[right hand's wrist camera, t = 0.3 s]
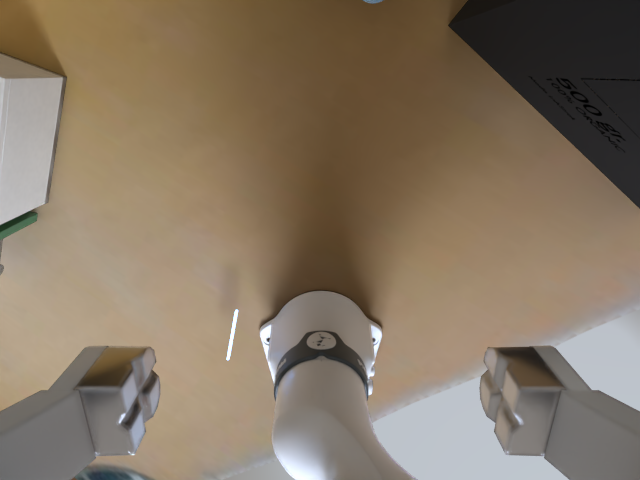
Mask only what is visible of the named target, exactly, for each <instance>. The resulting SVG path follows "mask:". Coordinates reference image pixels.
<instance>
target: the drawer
mask: <svg viewBox="0 0 640 480" xmlns="http://www.w3.org/2000/svg"><path fill="white" fill-rule="evenodd" d="M37 215H38V214H37V213H35V212H32V211H28V212H26V213H24V214H22V215H20V216H18V217H16V218H14V219H12V220H9V221H7V222H5V223H3V224H1V225H0V259H1V250H2V241H3V238H5V237H7V236H9V235H11V234H13V233H15V232H17V231H18V230H20V229H22V228H24V227H26V226H28V225H30V224H32V223H34V222H35V221H37ZM3 270H4V266H3V265H1V264H0V275H1V274H2V272H3Z"/></svg>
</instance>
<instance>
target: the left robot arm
mask: <svg viewBox="0 0 640 480" xmlns="http://www.w3.org/2000/svg"><path fill="white" fill-rule="evenodd" d="M363 1H364V2H367V3H371V4H373V3H379V2H381V1H383V0H363Z"/></svg>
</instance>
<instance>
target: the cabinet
mask: <svg viewBox="0 0 640 480" xmlns="http://www.w3.org/2000/svg"><path fill="white" fill-rule="evenodd" d="M66 79H67V77H65V76H63V75H60V74H57V73H55V72H52V71H49V70H47V69H44V68H41V67H39V66H36V65H33V64H31V63H28V62H25V61H23V60H20V59H17V58H15V57H12V56H9V55H7V54H4V53H1V52H0V225H1V224H3V223H5V222H7V221H9V220H12V219H14V218H16V217H18V216H20V215H22V214H24V213H26V212H28V211H30V210H32V209H34V208H37V207H39V206H41V205H43V204H46V203H48V200H49V193H50V186H51V179H52V173H53V166H54V159H55V153H56V146H57V139H58V132H59V126H60V119H61V112H62V105H63V99H64V92H65V85H66Z"/></svg>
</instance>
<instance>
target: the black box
mask: <svg viewBox="0 0 640 480" xmlns="http://www.w3.org/2000/svg"><path fill="white" fill-rule="evenodd" d="M448 26H449V27H450V28H451V29H452V30H454V31H455V32H456V33H457V34H458V35H459V36H460V37H461V38H462V39H463V40H464V41H465V42H466V43H467V44H468V45H469V46H470V47H471V48H472V49H473V50H474V51H476V52H477V53H478V54H479V55H480V56H481V57H482V58H483V59H484V60H485V61H486V62H487V63H488V64H489V65H490V66H491V67H492V68H493V69H494V70H495V71H496V72H497V73H499V74H500V75H501V76H502V77H503V78H504V79H505V80H506V81H507V82H508V83H509V84H510V85H511V86H512V87H513V88H514V89H515V90H516V91H517V92H518V93H519V94H521V95H522V96H523V97H524V98H525V99H526V100H527V101H528V102H529V103H530V104H531V105H532V106H533V107H534V108H535V109H536V110H537V111H538V112H539V113H540V114H541V115H543V116H544V117H545V118H546V119H547V120H548V121H549V122H550V123H551V124H552V125H553V126H554V127H555V128H556V129H557V130H558V131H559V132H560V133H561V134H562V135H563V136H564V137H566V138H567V139H568V140H569V141H570V142H571V143H572V144H573V145H574V146H575V147H576V148H577V149H578V150H579V151H580V152H581V153H582V154H583V155H584V156H585V157H586V158H588V159H589V160H590V161H591V162H592V163H593V164H594V165H595V166H596V167H597V168H598V169H599V170H600V171H601V172H602V173H603V174H604V175H605V176H606V177H607V178H608V179H610V180H611V181H612V182H613V183H614V184H615V185H616V186H617V187H618V188H619V189H620V190H621V191H622V192H623V193H624V194H625V195H626V196H627V197H628V198H629V199H630V200H632V201H633V202H634V203H635V204H636V205H637V206H638V207H639V208H640V0H468V1H467V3H466V4H465V5H464V6H463V8H462V9H461V10H460V11H459V13H458V14H457V15H456V16H455V18H454V19H453V20H452V21H451V23H450V24H449V25H448ZM593 79H595V80H593ZM598 79H600V80H598ZM606 79H607V80H606ZM608 79H611V80H608ZM616 79H620V80H616ZM629 79H634V80H631V81H630V80H629ZM635 80H637V81H635ZM583 81H584V82H583ZM590 88H591V89H590ZM593 91H594V92H593ZM596 94H597V95H596ZM608 106H609V107H608ZM615 113H616V114H615Z"/></svg>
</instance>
